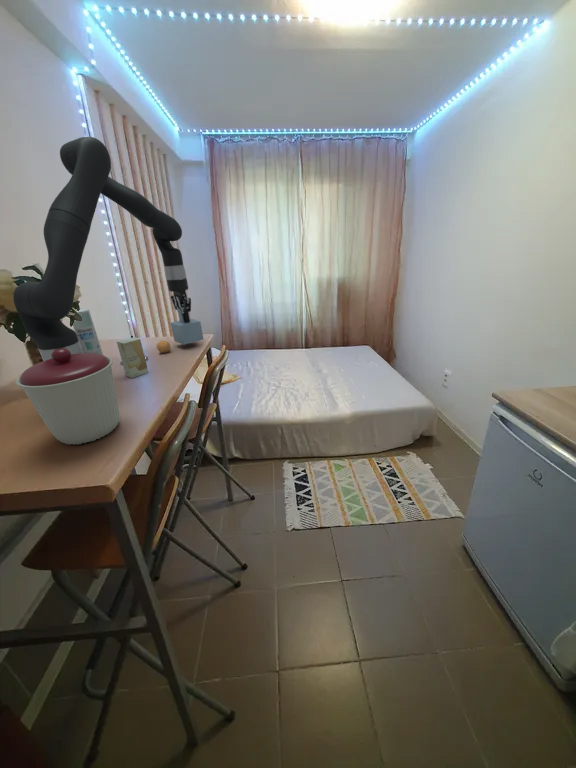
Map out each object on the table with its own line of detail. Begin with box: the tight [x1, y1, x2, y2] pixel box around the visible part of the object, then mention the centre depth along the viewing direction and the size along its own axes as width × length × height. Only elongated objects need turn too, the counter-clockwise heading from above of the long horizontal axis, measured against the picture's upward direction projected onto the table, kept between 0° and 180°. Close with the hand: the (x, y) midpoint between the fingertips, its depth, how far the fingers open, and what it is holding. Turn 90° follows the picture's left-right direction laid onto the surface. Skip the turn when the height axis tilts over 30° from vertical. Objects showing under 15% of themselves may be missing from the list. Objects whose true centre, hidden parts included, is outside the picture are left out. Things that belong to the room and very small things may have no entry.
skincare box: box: [116, 336, 149, 379], centre depth 106 cm, size 6×4×12 cm
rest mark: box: [120, 355, 149, 366], centre depth 121 cm, size 10×10×1 cm
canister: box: [14, 348, 120, 445], centre depth 72 cm, size 18×18×21 cm
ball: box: [156, 339, 171, 354], centre depth 127 cm, size 5×5×5 cm
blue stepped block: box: [169, 308, 204, 346], centre depth 131 cm, size 9×9×13 cm
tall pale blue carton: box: [72, 308, 104, 355], centre depth 118 cm, size 6×6×20 cm
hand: (185, 321), depth 130 cm, fingers closed on blue stepped block, 3 cm apart
